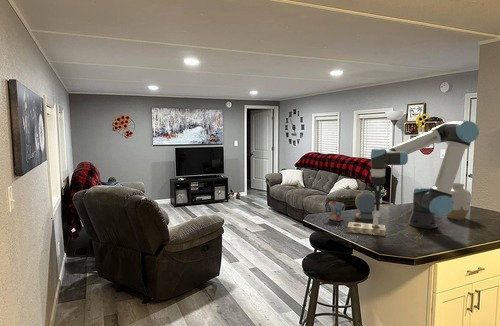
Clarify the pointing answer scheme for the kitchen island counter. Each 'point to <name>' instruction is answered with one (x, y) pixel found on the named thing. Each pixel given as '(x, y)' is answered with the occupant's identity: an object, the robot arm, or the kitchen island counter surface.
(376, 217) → the peg
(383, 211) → the kitchen island counter surface
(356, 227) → the hole block
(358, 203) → the alarm clock
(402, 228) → the kitchen island counter surface
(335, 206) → the mug
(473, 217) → the kitchen island counter surface
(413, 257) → the kitchen island counter surface
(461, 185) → the vase
